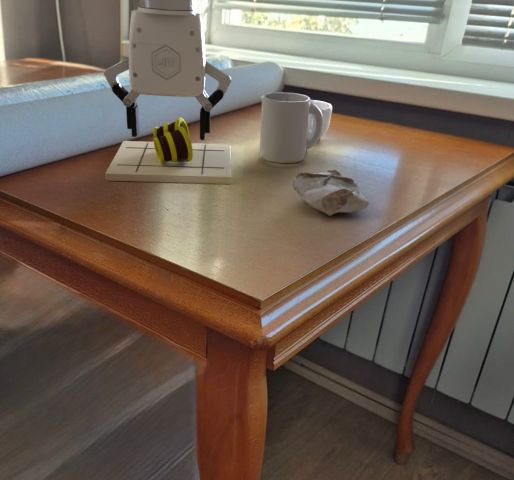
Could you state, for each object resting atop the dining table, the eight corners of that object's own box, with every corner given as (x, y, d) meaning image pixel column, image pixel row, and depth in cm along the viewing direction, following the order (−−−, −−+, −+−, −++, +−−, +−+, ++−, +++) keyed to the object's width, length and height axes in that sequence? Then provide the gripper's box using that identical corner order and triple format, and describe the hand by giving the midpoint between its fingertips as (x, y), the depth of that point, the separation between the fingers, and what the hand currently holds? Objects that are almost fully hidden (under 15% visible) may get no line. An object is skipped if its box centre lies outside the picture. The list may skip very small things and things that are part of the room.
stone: (284, 188, 83) (285, 164, 81) (348, 187, 84) (351, 163, 83) (305, 221, 73) (307, 194, 71) (377, 218, 75) (381, 192, 73)
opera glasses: (158, 153, 94) (150, 120, 91) (191, 146, 94) (184, 113, 91) (159, 172, 86) (150, 136, 83) (196, 164, 86) (188, 129, 83)
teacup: (286, 130, 111) (289, 98, 108) (329, 132, 110) (332, 101, 107) (283, 144, 102) (285, 110, 99) (329, 147, 102) (332, 113, 99)
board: (105, 180, 82) (105, 172, 82) (123, 147, 97) (123, 140, 96) (231, 184, 83) (231, 176, 83) (230, 150, 98) (230, 143, 97)
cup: (253, 151, 98) (255, 92, 93) (311, 149, 100) (316, 91, 95) (268, 164, 92) (271, 102, 87) (328, 161, 95) (335, 101, 90)
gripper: (93, -3, 75) (104, 139, 84) (234, 6, 76) (229, 146, 85) (104, -6, 81) (112, 127, 90) (233, 2, 82) (229, 133, 91)
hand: (169, 136), depth 88 cm, fingers open, 9 cm apart
